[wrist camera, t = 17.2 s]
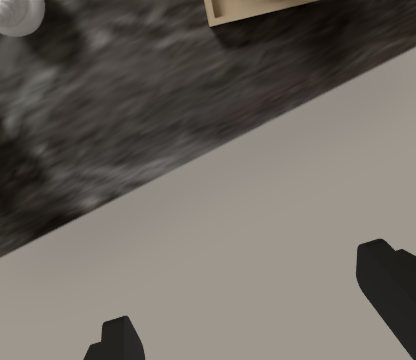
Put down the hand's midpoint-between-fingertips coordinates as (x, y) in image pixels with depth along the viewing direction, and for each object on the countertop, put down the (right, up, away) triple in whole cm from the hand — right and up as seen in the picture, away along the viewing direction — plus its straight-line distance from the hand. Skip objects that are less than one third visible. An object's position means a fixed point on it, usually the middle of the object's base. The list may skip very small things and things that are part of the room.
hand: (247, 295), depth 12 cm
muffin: (-19, +21, +23) cm, 37 cm away
